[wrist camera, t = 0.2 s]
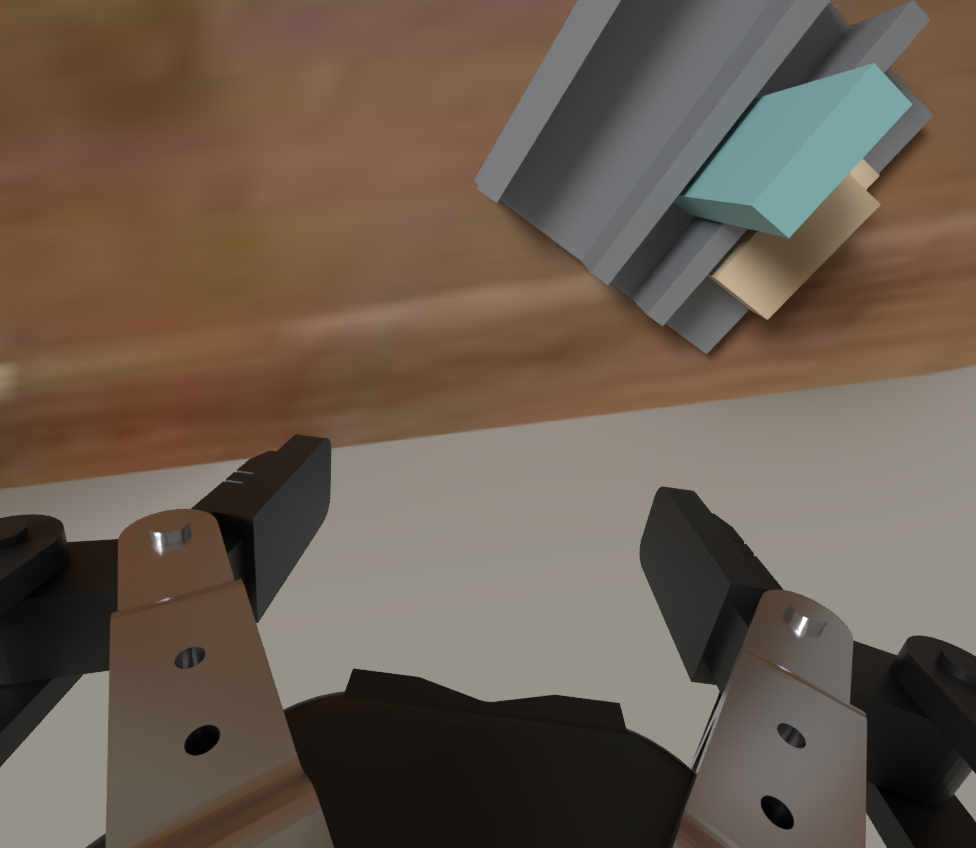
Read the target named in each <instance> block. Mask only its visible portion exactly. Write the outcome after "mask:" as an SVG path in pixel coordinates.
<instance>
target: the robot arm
mask: <svg viewBox="0 0 976 848" xmlns="http://www.w3.org/2000/svg"><path fill="white" fill-rule="evenodd" d="M330 484H331V443H330V440H329V439H327V438H320V437H313V436H306V435H299V434H296V435H295V436H293V437H292V438H291V439H290V440H289V441H288V442H287V443H286V444H284V445H283V446H282V447H281V448H280V449H279V450H278V451H277V452H276V451H268V452H266V453H263V454H261V455H258V456H256V457H253V458H251V459H249V460H248V461H247V462H246V463H245V464H243V465H242V466H241V467H240V468H239V469H238V470H237V472H234V473H233V474H232V475H230V476H229V477H228V478H227V479H226V481H225V482H222V483H221V484H220V485H218V486H217V487H216V488H215V489H214V490H213V491H211V492H210V493H209V494H208V495H207V496H205V497H204V498H203V499H202V500H201V501H200V502H198V503H197V504H196V505H195V506H194V507H192V508H191V509H176V510H169V511H163V512H159V513H155V514H152V515H149V516H146V517H144V518H142V519H139V520H137V521H136V522H134V523H132V524H131V525H129V526H128V527H127V528H126V529H125V530H124V531H123V532H122V533H121V535H120V537H119V539H115V540H97V541H82V542H81V541H80V542H67V540H66V535H65V531H64V526H63V524H62V522H61V521H60V520H58V519H56V518H53V517H51V516H46V515H34V514H33V515H17V516H10V517H4V518H0V767H1V766H2V765H3V763H4V762H5V761H6V760H7V759H8V758H9V757H10V756H11V754H12V753H13V752H14V751H15V750H16V749H17V748H18V747H19V746H20V744H21V743H22V742H23V741H24V740H25V739H26V738H27V737H28V736H29V734H30V733H31V732H32V731H33V730H34V729H35V728H36V727H37V725H38V724H39V723H40V722H41V721H42V720H43V719H44V718H45V716H46V715H47V714H48V713H49V712H50V711H51V710H52V709H53V708H54V706H55V705H56V704H57V703H58V702H59V701H60V700H61V699H62V698H63V697H64V695H65V694H66V693H67V692H68V691H69V690H70V689H71V688H72V687H73V685H74V684H75V683H76V682H77V681H78V680H79V679H80V678H81V677H82V675H83V674H87V673H94V672H101V671H109V708H108V711H109V713H108V755H107V802H106V803H107V804H106V833H105V834H104V835H102V836H101V837H100V838H98V839H97V840H95V841H94V842H93V843H91V844H90V845H88V846H87V847H86V848H865V837H866V813H867V815H868V816H869V818H870V820H871V821H872V823H873V825H874V826H875V828H876V830H877V832H878V833H879V835H880V836H881V838H882V840H883V842H884V843H885V845H886V847H887V848H976V822H975V820H974V819H973V818H972V816H971V815H970V814H969V813H968V811H967V810H966V809H965V808H964V806H963V805H962V804H961V803H960V801H959V800H958V798H957V797H956V796H955V795H954V793H955V792H956V791H957V789H958V788H959V787H960V785H961V784H962V783H963V781H964V780H965V779H966V778H967V776H968V775H969V774H970V773H971V771H972V770H973V771H974V772H975V773H976V656H974V655H972V654H971V653H969V652H966V651H965V650H963V649H961V648H959V647H957V646H954V645H952V644H950V643H947V642H944V641H942V640H939V639H935V638H932V637H927V636H912V637H910V638H908V639H907V640H906V642H905V644H904V645H903V647H902V649H901V650H900V652H899V653H898V655H894V654H891V653H888V652H885V651H882V650H879V649H877V648H874V647H871V646H868V645H865V644H862V643H859V642H856V641H853V636H852V633H851V631H850V630H849V628H848V627H847V626H846V624H845V623H844V622H843V621H842V620H841V619H840V618H839V617H838V616H837V615H835V614H834V613H833V612H832V611H830V610H829V609H827V608H826V607H824V606H823V605H821V604H819V603H818V602H816V601H814V600H812V599H810V598H808V597H805V596H803V595H800V594H797V593H794V592H790V591H785V590H783V589H782V587H781V586H780V585H779V584H778V582H777V581H776V580H775V579H774V578H773V576H772V575H771V574H770V573H769V571H768V570H767V569H766V568H765V566H764V565H763V564H762V563H761V562H760V560H759V559H758V558H757V557H756V556H754V553H753V552H752V551H751V549H750V548H749V547H748V546H747V544H744V541H743V539H742V538H741V537H740V536H739V535H738V533H737V532H736V531H735V530H734V528H733V527H731V526H730V525H729V524H727V523H726V522H725V521H723V520H722V519H720V518H719V517H718V516H716V515H715V514H712V513H711V512H710V510H709V509H708V508H707V507H706V505H705V504H704V503H703V502H702V500H701V499H700V498H699V496H698V495H697V494H696V493H695V492H694V491H691V490H684V489H676V488H669V487H660V488H659V489H658V491H657V492H656V494H655V497H654V500H653V504H652V507H651V510H650V513H649V517H648V520H647V523H646V526H645V530H644V533H643V536H642V539H641V544H640V562H641V566H642V568H643V571H644V573H645V576H646V578H647V580H648V583H649V585H650V587H651V590H652V592H653V594H654V597H655V599H656V601H657V604H658V606H659V608H660V610H661V613H662V615H663V617H664V620H665V622H666V624H667V627H668V629H669V631H670V634H671V636H672V638H673V640H674V643H675V645H676V648H677V650H678V652H679V654H680V657H681V659H682V661H683V664H684V666H685V668H686V670H687V673H688V675H689V678H690V680H691V682H698V683H705V684H713V685H717V687H718V689H719V691H720V692H719V694H718V696H717V699H716V701H715V703H714V705H713V708H712V710H711V713H710V716H709V718H708V721H707V723H706V726H705V729H704V731H703V733H702V736H701V739H700V741H699V744H698V746H697V749H696V751H695V754H694V756H693V759H692V761H691V764H690V767H687V765H686V764H684V763H683V762H682V761H681V760H680V759H678V758H677V757H676V756H674V755H673V754H671V753H670V752H669V751H667V750H666V749H664V748H663V747H661V746H659V745H658V744H656V743H655V742H653V741H651V740H650V739H648V738H646V737H644V736H642V735H640V734H638V733H636V732H634V731H631V730H628V729H626V726H625V722H624V718H623V714H622V710H621V707H620V703H614V702H607V701H599V700H591V699H583V698H575V697H568V696H560V695H550V696H540V697H532V698H524V699H515V700H506V701H497V702H485V701H481V700H478V699H476V698H473V697H470V696H467V695H465V694H462V693H460V692H457V691H454V690H451V689H449V688H446V687H444V686H441V685H438V684H436V683H433V682H431V681H428V680H426V679H423V678H420V677H414V676H407V675H398V674H391V673H384V672H376V671H368V670H360V669H353V670H352V673H351V676H350V679H349V682H348V685H347V687H346V690H345V691H344V692H337V693H331V694H327V695H322V696H318V697H314V698H311V699H308V700H306V701H303V702H300V703H297V704H295V705H293V706H291V707H288V708H286V709H284V710H283V708H282V705H281V702H280V698H279V695H278V692H277V689H276V686H275V682H274V679H273V677H272V673H271V670H270V666H269V663H268V660H267V657H266V654H265V650H264V647H263V644H262V641H261V638H260V635H259V631H258V628H257V625H256V623H258V622H259V620H260V619H261V617H262V616H263V614H264V613H265V611H266V610H267V608H268V607H269V605H270V604H271V602H272V601H273V599H274V597H275V596H276V594H277V593H278V591H279V589H280V588H281V587H282V585H283V584H284V582H285V581H286V579H287V577H288V576H289V574H290V573H291V571H292V570H293V568H294V567H295V565H296V564H297V562H298V560H299V559H300V557H301V556H302V554H303V553H304V551H305V549H306V548H307V547H308V545H309V544H310V542H311V540H312V539H313V537H314V536H315V534H316V533H317V531H318V530H319V528H320V527H321V525H322V523H323V522H324V520H325V518H326V515H327V511H328V508H329V503H330Z"/></svg>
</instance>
